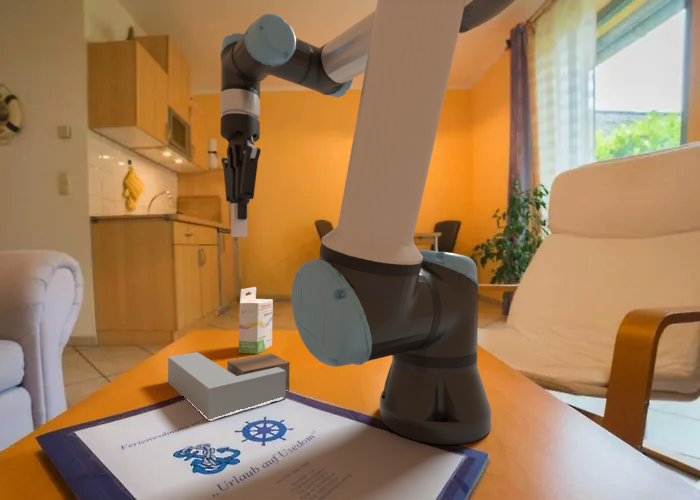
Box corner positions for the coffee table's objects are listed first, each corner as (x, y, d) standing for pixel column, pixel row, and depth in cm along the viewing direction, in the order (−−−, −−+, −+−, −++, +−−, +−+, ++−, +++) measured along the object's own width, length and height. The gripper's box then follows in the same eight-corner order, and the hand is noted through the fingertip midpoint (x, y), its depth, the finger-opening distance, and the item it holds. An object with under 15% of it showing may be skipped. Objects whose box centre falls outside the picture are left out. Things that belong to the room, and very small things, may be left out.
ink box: (257, 354, 83) (258, 289, 83) (237, 353, 84) (238, 289, 84) (273, 345, 91) (273, 286, 91) (254, 344, 92) (255, 286, 92)
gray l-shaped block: (285, 399, 57) (285, 370, 57) (208, 421, 49) (209, 388, 49) (233, 368, 72) (233, 346, 72) (167, 382, 64) (168, 356, 64)
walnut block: (289, 392, 61) (289, 362, 61) (242, 404, 56) (243, 371, 56) (270, 380, 66) (271, 353, 66) (227, 390, 61) (227, 360, 61)
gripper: (273, 114, 70) (272, 236, 70) (244, 131, 80) (242, 238, 80) (236, 103, 65) (234, 234, 65) (209, 122, 75) (208, 236, 75)
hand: (239, 236), depth 72 cm, fingers closed
